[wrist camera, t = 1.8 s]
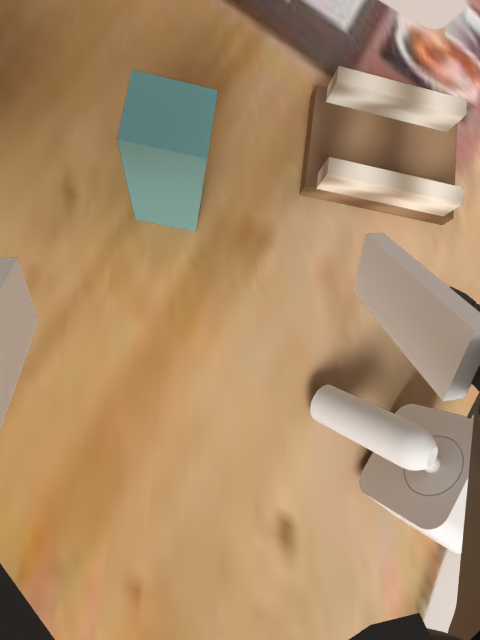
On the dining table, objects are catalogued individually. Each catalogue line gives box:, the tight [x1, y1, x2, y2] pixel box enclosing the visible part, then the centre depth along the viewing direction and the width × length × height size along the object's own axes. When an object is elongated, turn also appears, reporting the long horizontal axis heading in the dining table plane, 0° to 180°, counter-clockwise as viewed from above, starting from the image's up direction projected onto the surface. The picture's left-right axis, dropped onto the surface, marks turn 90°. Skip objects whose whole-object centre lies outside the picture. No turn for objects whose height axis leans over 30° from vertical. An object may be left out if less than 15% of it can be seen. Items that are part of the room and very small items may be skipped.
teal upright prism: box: [117, 70, 218, 231], centre depth 28 cm, size 5×4×11 cm
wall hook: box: [310, 385, 474, 554], centre depth 29 cm, size 8×10×10 cm
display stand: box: [300, 66, 467, 225], centre depth 35 cm, size 14×10×4 cm
